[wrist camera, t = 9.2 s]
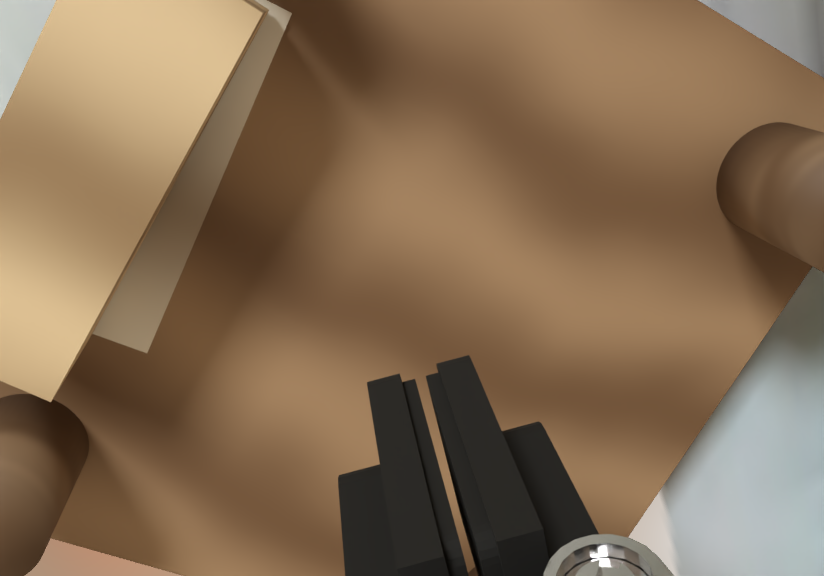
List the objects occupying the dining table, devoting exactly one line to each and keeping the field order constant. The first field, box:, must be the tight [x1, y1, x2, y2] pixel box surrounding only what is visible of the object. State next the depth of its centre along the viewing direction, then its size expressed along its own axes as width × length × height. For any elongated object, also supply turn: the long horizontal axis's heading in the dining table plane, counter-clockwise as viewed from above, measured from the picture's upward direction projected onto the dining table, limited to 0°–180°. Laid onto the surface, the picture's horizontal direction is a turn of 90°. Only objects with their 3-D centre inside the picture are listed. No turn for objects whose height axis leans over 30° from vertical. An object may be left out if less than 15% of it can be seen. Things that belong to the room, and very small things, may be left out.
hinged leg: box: [0, 0, 269, 402], centre depth 17 cm, size 10×3×3 cm, turn 148°
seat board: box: [0, 0, 824, 576], centre depth 21 cm, size 22×22×6 cm
